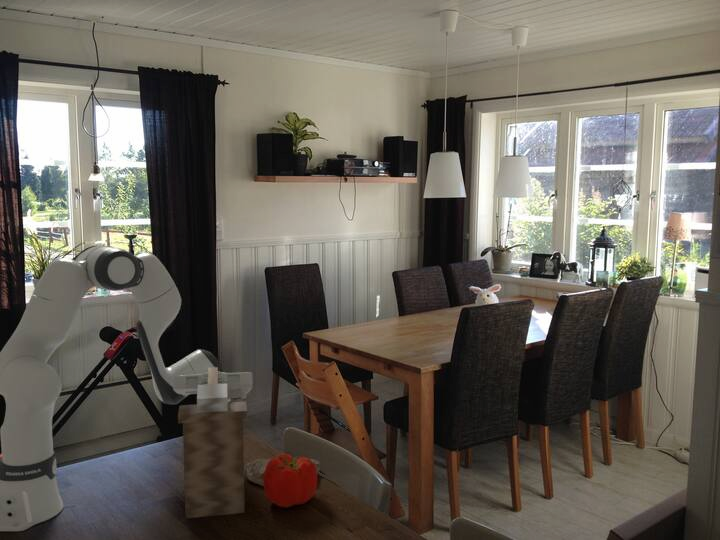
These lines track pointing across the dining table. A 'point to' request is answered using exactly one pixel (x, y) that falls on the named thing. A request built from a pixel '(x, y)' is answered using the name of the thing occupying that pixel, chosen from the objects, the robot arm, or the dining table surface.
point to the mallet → (212, 394)
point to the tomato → (289, 480)
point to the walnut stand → (213, 460)
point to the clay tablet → (258, 468)
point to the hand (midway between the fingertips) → (212, 375)
